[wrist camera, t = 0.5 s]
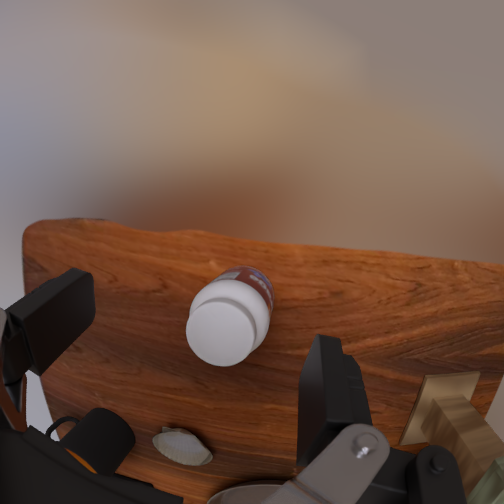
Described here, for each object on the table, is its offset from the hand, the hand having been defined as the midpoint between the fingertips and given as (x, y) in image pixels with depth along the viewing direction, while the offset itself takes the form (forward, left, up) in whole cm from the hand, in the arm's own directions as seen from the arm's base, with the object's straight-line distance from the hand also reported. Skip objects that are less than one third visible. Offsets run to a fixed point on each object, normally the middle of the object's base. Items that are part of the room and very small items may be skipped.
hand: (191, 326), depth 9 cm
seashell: (+23, -15, -20) cm, 34 cm away
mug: (+21, -29, -20) cm, 41 cm away
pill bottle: (+4, -2, -20) cm, 21 cm away
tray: (+25, +19, -20) cm, 37 cm away
